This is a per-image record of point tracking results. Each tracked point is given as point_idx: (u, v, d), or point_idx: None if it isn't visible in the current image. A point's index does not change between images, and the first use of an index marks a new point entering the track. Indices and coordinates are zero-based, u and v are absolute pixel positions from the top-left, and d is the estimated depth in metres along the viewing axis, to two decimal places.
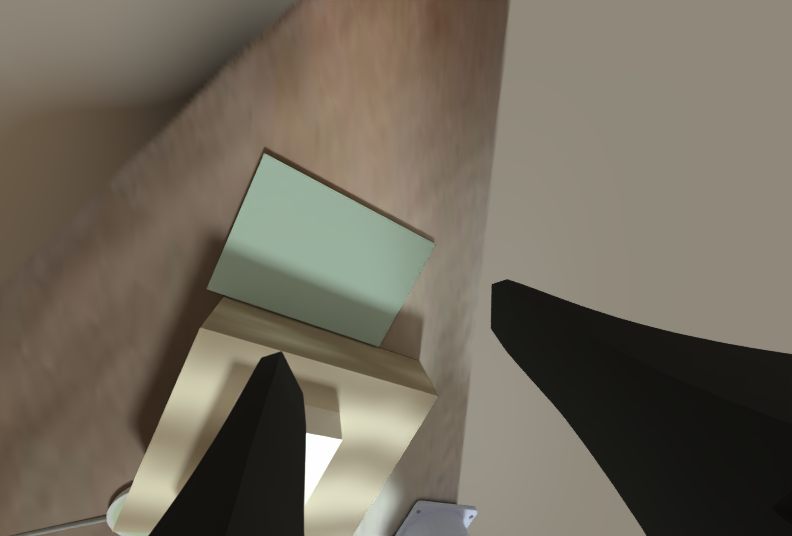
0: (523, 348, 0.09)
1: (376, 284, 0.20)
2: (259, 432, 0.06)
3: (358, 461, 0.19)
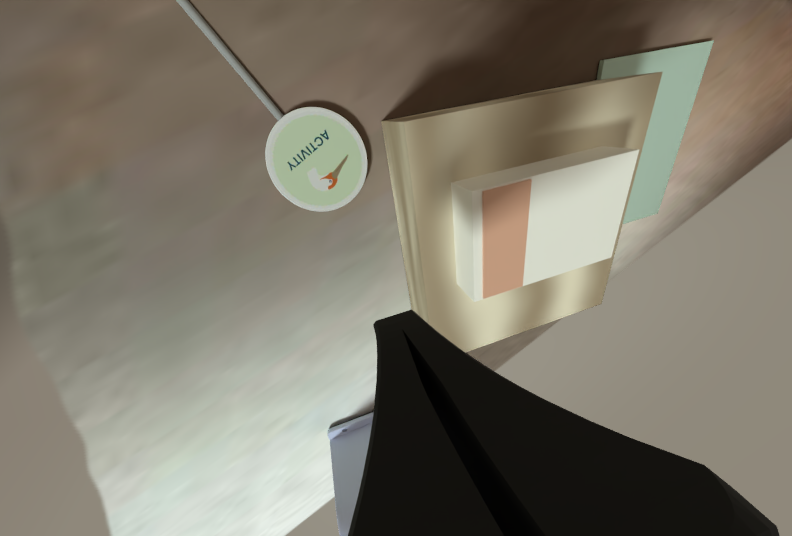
0: None
1: None
2: None
3: (532, 297, 0.19)
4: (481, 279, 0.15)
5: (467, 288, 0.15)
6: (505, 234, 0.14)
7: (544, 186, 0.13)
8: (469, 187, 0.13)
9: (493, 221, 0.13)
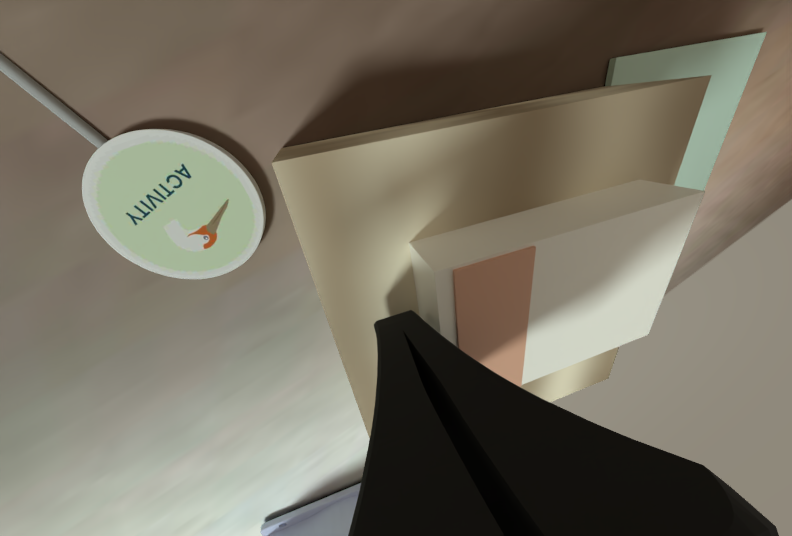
0: None
1: None
2: None
3: None
4: None
5: None
6: (493, 324, 0.09)
7: (556, 254, 0.08)
8: (432, 259, 0.08)
9: (474, 310, 0.08)
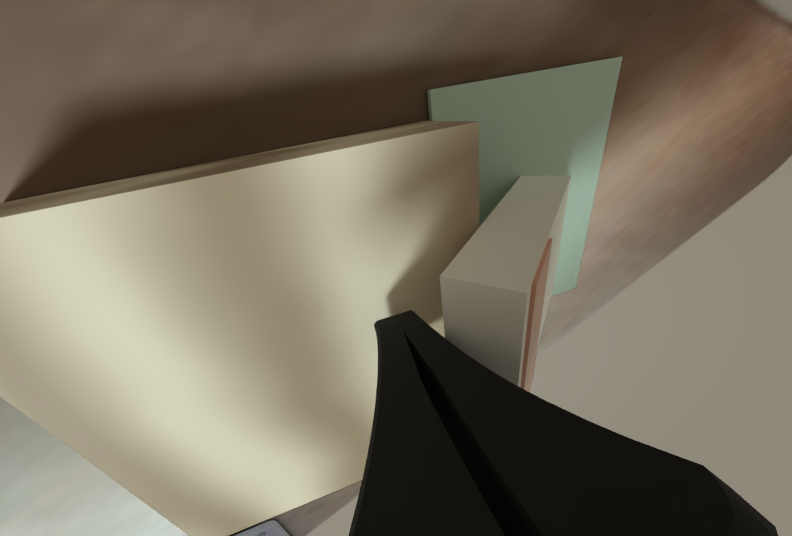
0: None
1: None
2: None
3: (350, 447, 0.13)
4: None
5: None
6: None
7: None
8: (501, 282, 0.06)
9: None
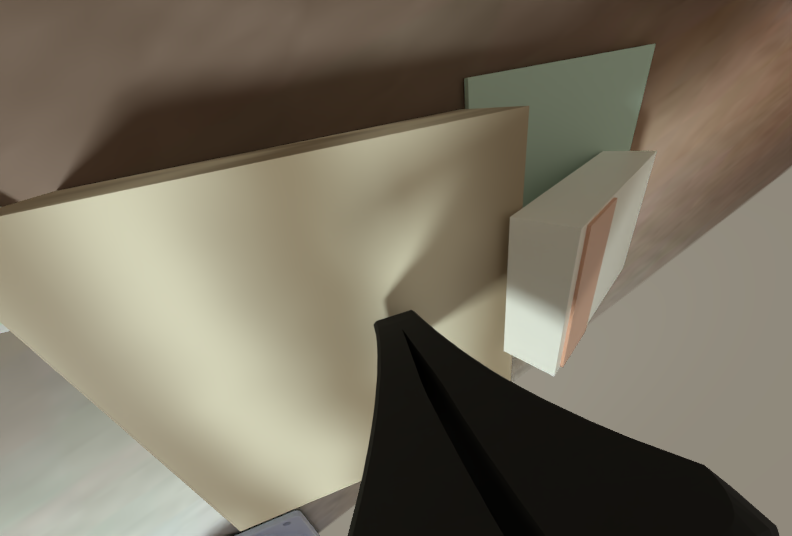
0: None
1: None
2: None
3: None
4: (563, 344, 0.10)
5: (536, 358, 0.11)
6: None
7: (617, 204, 0.10)
8: (561, 222, 0.08)
9: (585, 264, 0.09)
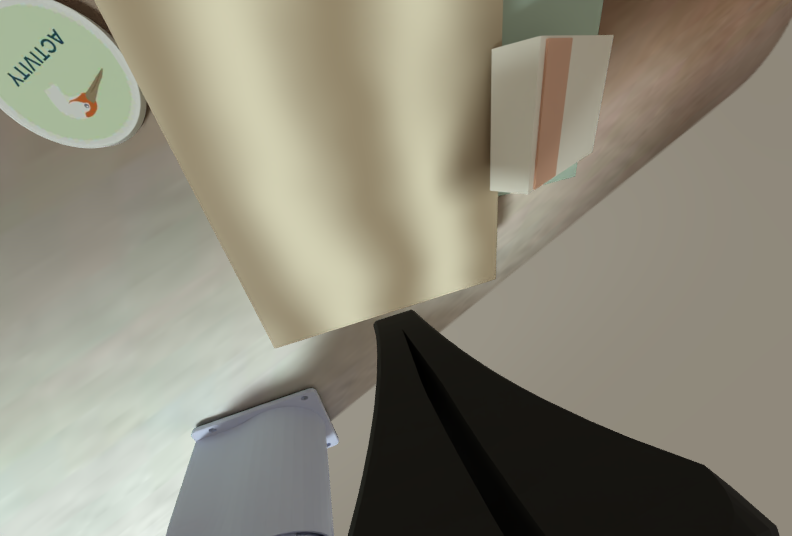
0: None
1: None
2: None
3: (394, 266, 0.16)
4: (534, 164, 0.13)
5: (514, 183, 0.14)
6: (552, 105, 0.13)
7: (575, 52, 0.13)
8: None
9: (548, 85, 0.12)
